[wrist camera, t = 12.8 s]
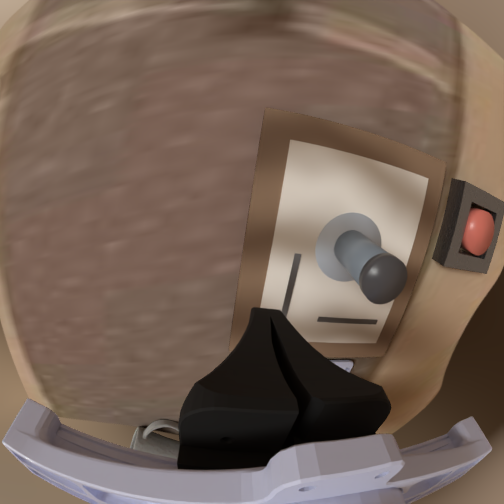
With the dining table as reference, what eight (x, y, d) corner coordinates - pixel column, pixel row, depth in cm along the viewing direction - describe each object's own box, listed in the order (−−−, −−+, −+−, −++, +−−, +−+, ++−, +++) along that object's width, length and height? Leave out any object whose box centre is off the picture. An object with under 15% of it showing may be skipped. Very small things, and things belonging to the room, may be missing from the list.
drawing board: (379, 350, 25) (384, 358, 24) (229, 344, 24) (228, 352, 23) (439, 161, 19) (448, 163, 18) (264, 109, 17) (266, 106, 16)
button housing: (475, 266, 22) (486, 273, 21) (432, 258, 22) (443, 266, 20) (493, 199, 20) (505, 203, 18) (451, 178, 19) (465, 181, 17)
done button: (475, 251, 21) (486, 258, 19) (451, 245, 21) (464, 252, 19) (485, 212, 20) (498, 216, 18) (462, 202, 19) (476, 206, 18)
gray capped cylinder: (362, 267, 20) (397, 305, 15) (328, 263, 20) (357, 303, 15) (372, 232, 19) (413, 261, 14) (338, 225, 19) (373, 254, 14)
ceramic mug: (181, 455, 32) (176, 493, 25) (132, 438, 31) (121, 476, 24) (203, 427, 29) (199, 475, 22) (144, 407, 28) (130, 454, 21)
